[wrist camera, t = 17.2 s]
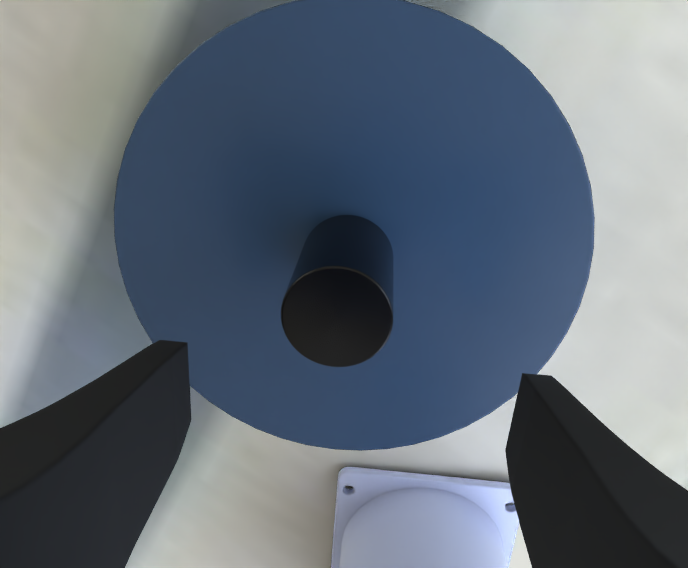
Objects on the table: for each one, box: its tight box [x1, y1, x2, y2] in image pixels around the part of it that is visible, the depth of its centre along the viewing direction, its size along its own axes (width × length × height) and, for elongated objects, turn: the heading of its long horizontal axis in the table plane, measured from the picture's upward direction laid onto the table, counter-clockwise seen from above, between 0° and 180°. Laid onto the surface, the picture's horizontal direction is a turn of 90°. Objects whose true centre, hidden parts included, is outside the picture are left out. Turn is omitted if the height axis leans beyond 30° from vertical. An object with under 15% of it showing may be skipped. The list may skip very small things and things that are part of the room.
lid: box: [114, 0, 595, 450], centre depth 15 cm, size 13×13×5 cm
